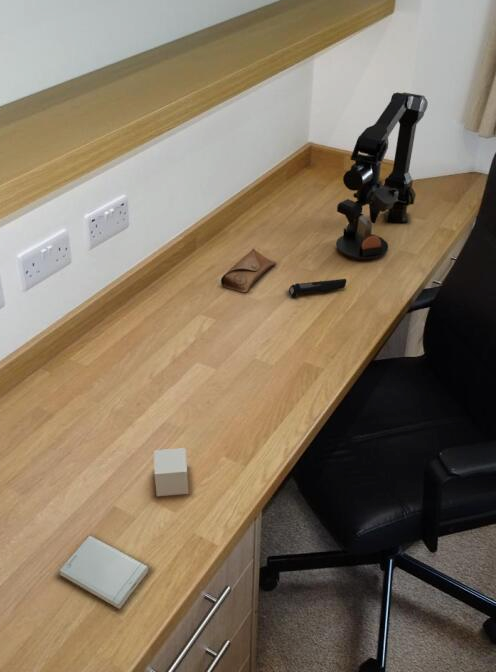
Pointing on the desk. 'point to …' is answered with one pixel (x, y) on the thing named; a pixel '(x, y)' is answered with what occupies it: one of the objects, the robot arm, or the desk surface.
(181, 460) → the light grey cube
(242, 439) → the desk surface
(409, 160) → the robot arm
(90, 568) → the hard drive
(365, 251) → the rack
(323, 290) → the electric trimmer
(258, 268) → the sunglasses case
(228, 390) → the desk surface
